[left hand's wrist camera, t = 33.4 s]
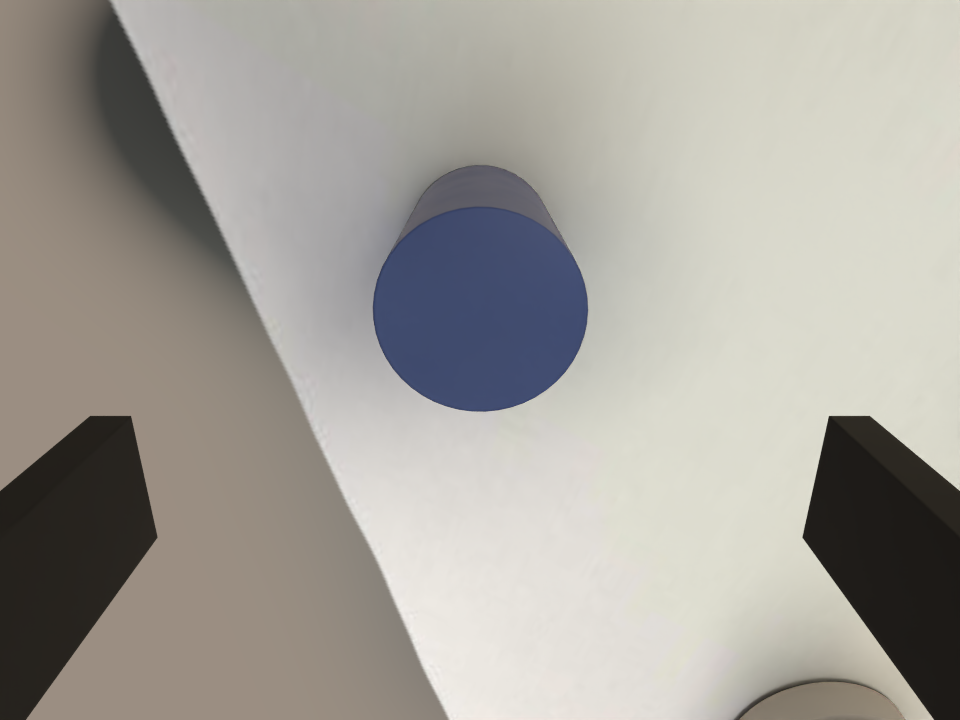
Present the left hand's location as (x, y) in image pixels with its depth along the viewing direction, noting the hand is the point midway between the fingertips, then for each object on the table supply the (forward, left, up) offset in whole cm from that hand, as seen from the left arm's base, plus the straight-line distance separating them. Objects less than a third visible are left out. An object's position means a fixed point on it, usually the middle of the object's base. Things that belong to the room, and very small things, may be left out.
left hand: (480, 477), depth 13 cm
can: (0, 0, -23) cm, 23 cm away
